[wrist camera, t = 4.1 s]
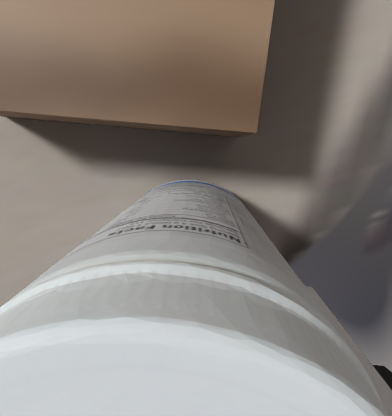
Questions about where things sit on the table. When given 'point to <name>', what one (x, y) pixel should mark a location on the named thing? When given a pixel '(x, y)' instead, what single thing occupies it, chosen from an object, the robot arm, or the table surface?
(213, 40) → the walnut block
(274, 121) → the table surface
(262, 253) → the supplement tub
